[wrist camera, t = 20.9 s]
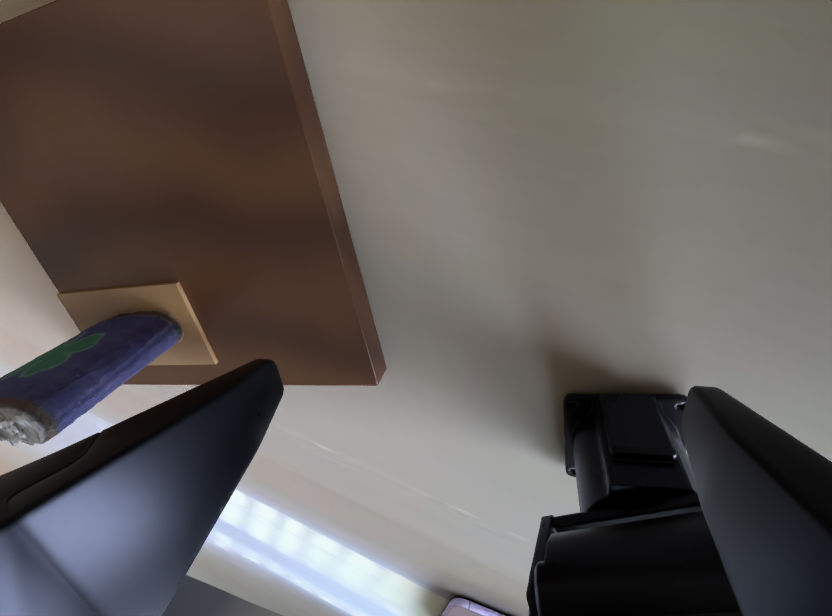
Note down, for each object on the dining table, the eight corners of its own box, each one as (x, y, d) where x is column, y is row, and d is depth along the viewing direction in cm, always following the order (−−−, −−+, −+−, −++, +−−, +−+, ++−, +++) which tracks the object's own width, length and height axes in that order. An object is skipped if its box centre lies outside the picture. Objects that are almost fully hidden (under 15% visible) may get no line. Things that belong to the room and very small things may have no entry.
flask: (102, 357, 30) (-89, 478, 20) (76, 323, 28) (-138, 435, 19) (193, 341, 26) (15, 475, 17) (169, 302, 25) (-36, 423, 16)
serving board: (387, 368, 26) (376, 389, 24) (136, 370, 33) (114, 387, 31) (270, -65, 17) (239, -83, 15) (-50, 62, 23) (-99, 60, 21)
